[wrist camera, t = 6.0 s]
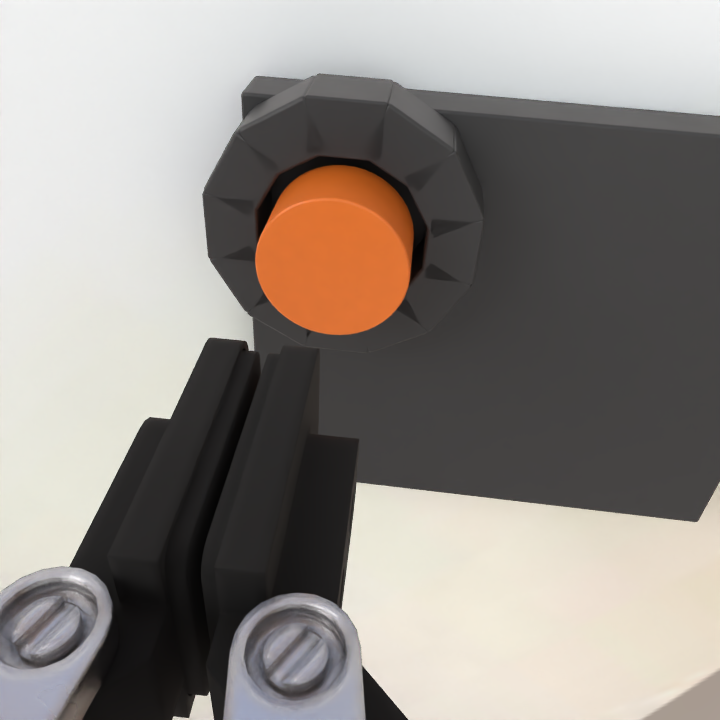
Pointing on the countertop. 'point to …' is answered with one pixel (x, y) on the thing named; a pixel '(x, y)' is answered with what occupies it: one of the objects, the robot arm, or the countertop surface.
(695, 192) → the scale
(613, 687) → the countertop surface
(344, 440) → the robot arm
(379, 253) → the power button
